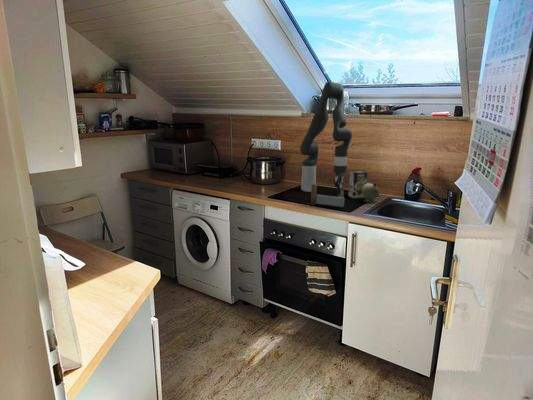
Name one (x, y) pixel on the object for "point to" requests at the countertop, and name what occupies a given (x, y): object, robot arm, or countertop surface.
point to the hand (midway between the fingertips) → (338, 193)
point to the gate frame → (314, 190)
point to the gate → (330, 200)
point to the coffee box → (357, 183)
